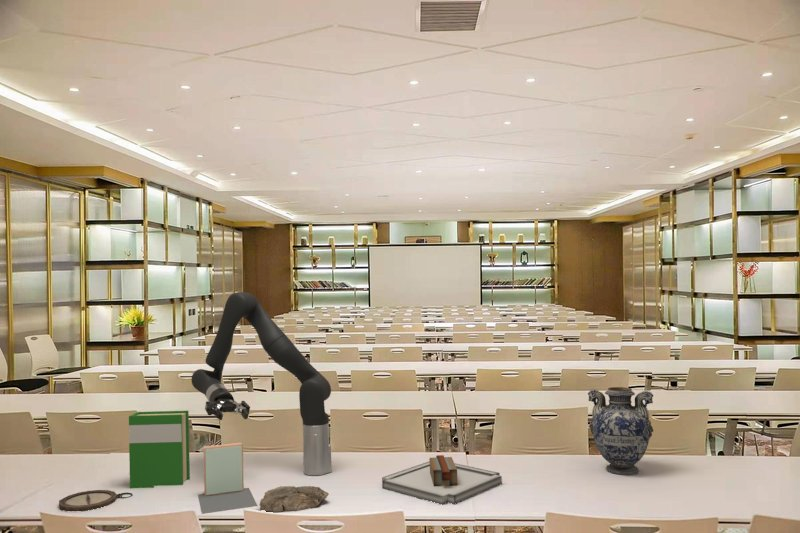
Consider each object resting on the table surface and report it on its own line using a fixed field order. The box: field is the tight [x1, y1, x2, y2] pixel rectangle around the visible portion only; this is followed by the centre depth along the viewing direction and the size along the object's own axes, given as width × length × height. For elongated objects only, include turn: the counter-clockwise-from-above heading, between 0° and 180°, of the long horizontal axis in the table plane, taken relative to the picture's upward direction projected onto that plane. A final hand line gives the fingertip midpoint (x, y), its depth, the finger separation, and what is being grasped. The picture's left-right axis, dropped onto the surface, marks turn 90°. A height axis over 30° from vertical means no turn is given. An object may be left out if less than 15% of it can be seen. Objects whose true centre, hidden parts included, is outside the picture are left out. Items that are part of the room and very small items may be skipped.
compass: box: [58, 489, 134, 512], centre depth 204 cm, size 20×16×2 cm
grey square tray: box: [381, 454, 503, 506], centre depth 213 cm, size 30×30×8 cm
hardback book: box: [128, 410, 191, 489], centre depth 222 cm, size 18×7×24 cm, turn 90°
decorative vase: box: [587, 386, 654, 476], centre depth 223 cm, size 21×19×28 cm
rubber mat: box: [197, 487, 258, 515], centre depth 201 cm, size 16×19×1 cm
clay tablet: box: [259, 485, 329, 513], centre depth 198 cm, size 14×5×20 cm
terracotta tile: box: [202, 442, 245, 496], centre depth 209 cm, size 12×3×15 cm, turn 111°
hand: (234, 417), depth 216 cm, fingers open, 8 cm apart
